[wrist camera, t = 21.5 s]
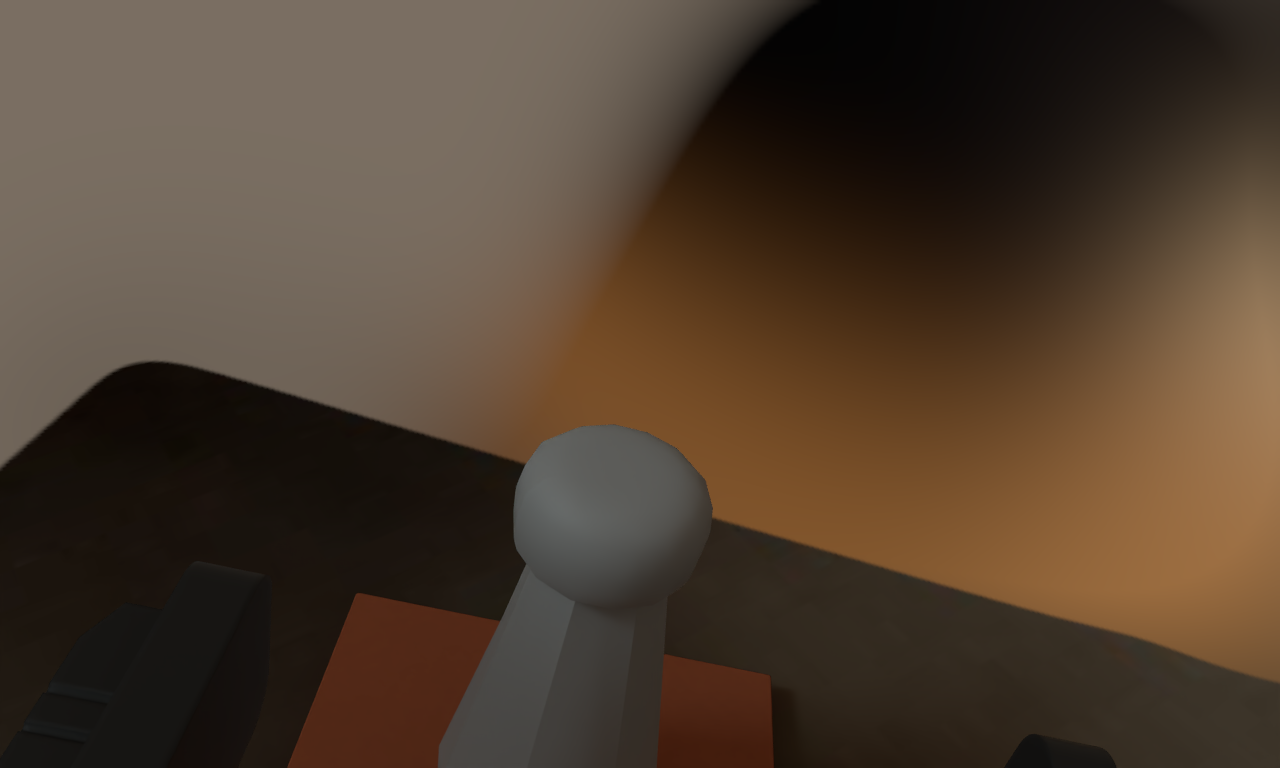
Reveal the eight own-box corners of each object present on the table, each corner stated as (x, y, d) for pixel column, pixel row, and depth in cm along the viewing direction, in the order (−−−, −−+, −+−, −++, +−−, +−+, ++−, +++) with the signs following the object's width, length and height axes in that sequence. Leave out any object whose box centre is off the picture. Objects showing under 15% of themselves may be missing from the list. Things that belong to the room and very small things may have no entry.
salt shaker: (485, 708, 34) (554, 356, 26) (661, 784, 33) (782, 441, 26) (387, 869, 29) (438, 493, 22) (589, 964, 28) (714, 604, 21)
